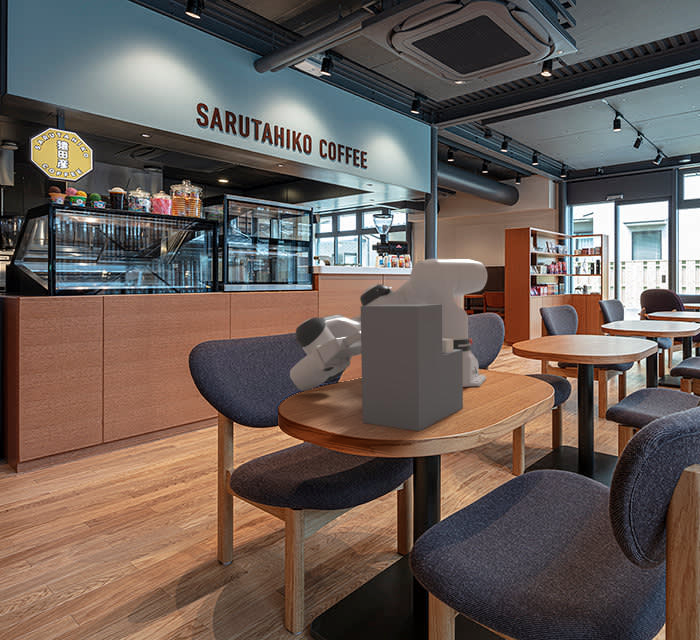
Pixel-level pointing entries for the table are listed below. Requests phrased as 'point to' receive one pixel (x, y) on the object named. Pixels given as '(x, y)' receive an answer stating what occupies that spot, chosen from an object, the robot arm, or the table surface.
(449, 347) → the beige rectangular post
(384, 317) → the grey l-shaped step block
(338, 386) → the table surface
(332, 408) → the table surface
